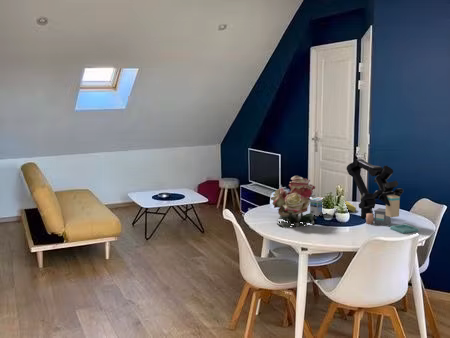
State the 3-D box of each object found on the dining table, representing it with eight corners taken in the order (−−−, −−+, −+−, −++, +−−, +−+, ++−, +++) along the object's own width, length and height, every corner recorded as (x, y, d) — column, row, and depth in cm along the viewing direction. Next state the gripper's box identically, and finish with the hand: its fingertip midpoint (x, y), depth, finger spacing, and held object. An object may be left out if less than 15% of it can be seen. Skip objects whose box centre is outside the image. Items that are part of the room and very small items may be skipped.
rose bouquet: (270, 218, 327) (269, 173, 323) (315, 217, 326) (315, 172, 322) (272, 228, 302) (272, 179, 298) (321, 228, 301) (321, 178, 297)
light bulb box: (317, 216, 330) (317, 200, 329) (309, 214, 335) (309, 199, 334) (327, 213, 337) (327, 198, 335) (319, 212, 342) (319, 196, 341)
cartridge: (364, 223, 309) (365, 214, 308) (367, 222, 312) (367, 212, 311) (371, 224, 306) (372, 215, 305) (374, 223, 309) (374, 213, 309)
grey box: (373, 223, 308) (374, 210, 307) (378, 220, 315) (379, 208, 314) (386, 225, 304) (386, 212, 302) (390, 222, 310) (391, 209, 309)
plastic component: (357, 208, 340) (344, 203, 338) (352, 218, 341) (340, 212, 339) (346, 200, 359) (334, 195, 357) (341, 209, 360) (329, 204, 358)
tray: (390, 229, 295) (390, 226, 295) (405, 227, 299) (405, 224, 299) (403, 233, 285) (403, 230, 285) (418, 231, 289) (418, 228, 289)
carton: (385, 215, 301) (385, 195, 299) (393, 214, 303) (393, 194, 301) (391, 217, 296) (391, 197, 294) (399, 216, 297) (399, 196, 296)
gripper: (375, 177, 296) (387, 199, 288) (402, 175, 302) (413, 196, 294) (367, 188, 305) (378, 209, 296) (393, 185, 311) (404, 206, 302)
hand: (394, 205), depth 297 cm, fingers closed on carton, 5 cm apart
